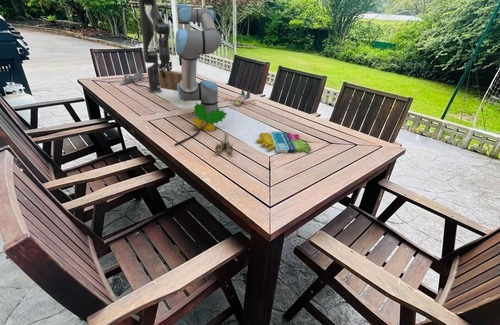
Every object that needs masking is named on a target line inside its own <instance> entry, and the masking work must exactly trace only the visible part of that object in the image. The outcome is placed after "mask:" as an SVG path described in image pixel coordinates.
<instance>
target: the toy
mask: <svg viewBox="0 0 500 325" xmlns="http://www.w3.org/2000/svg"><path fill="white" fill-rule="evenodd" d="M240 92H241V93H240V95H238V96H237V97H235V99H233V98H230V99H228V98H227V97H226V96H225V97H224V98H223V101H224V102H233V103H232V104H233V105H235V106H242V103H243V104H247V105H252V106H255V105H256V104H257V103H256V102H254V101H253V100H252V101H251V102H250V101H248V100H246V99H248V98H250V97H251V90H250V89H249V90H248V91H247V92H246V93H245V91H244V89H242V90H241V91H240Z"/></svg>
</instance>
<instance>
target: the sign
mask: <svg viewBox="0 0 500 325" xmlns="http://www.w3.org/2000/svg"><path fill="white" fill-rule="evenodd" d="M299 136H300V135H299V134H298V133H296V134H294V133H291V132H287V131H270V132H264V133H263V132H260V133H259V139H258V138H257V139H256V143H257V144H261V148H263V147H264V148H265V149H267V151H268V152H271V151H272V150H273V149H275V152H276V153H283V154H285V153H287V154H288V153H290V154H293V153H296V152H298V153H301V152H305V153H310V151H311V150H312V149H311V148H312V146H309V142H304V141H303V139H302V138H299Z"/></svg>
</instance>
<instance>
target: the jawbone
mask: <svg viewBox="0 0 500 325" xmlns="http://www.w3.org/2000/svg"><path fill="white" fill-rule="evenodd" d="M223 135H224V136H223V140H222V139H221V142H220V144H218V142H215V144H216V146H215V148H214V149H215V152H214V154H215V155H217V156H218V155H220V153H221V152H223V151H224V150H226V152H227V153H228V155H229V156H233V155H234V154H233V153H234V148H233V144H234V143H230V140H228V139H229V138H228V137H229V136H228V135H229V133H228V131H226V132H224V134H223Z"/></svg>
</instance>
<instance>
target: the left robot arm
mask: <svg viewBox="0 0 500 325" xmlns="http://www.w3.org/2000/svg"><path fill="white" fill-rule="evenodd" d="M137 3H138V7H139V15H140V16H139V17H140V28H141V37H142V53H143V60H144V63H146V64H152V65H150V66H148V67H147V68H146V70H147V77H148V78H147V79H148V85H143V84H138V83H135V82H134V81H132V84H133V85H135V86H138V87H145V88H147V89H148V90H149V92H150V93H156V94H157V93H160V92H161V91H162V90H161V89H162V88H161V87H160V77H159V72H161V73H162V78H165V70H167V71H173V70H172V69H173V62H172V61H171V55H170V54H171V53H170V47H169V38H170V32H171V28H170V25H169V24H168V23H164V19H163V17H162V15H161V13H160V11H159V8H158V4H157V1H156V0H137ZM145 6H149V7H150V6H151V9H150V11H149V15H150V17H149V15H148V13H147V11H146V7H145ZM155 34H157V35H163V36H162V37H159V38H158V39H157V43H158V52H157V51H156V50H149V46H150V44H151V42H152V40H153V39H154V36H155ZM159 61H160V63H159Z"/></svg>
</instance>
